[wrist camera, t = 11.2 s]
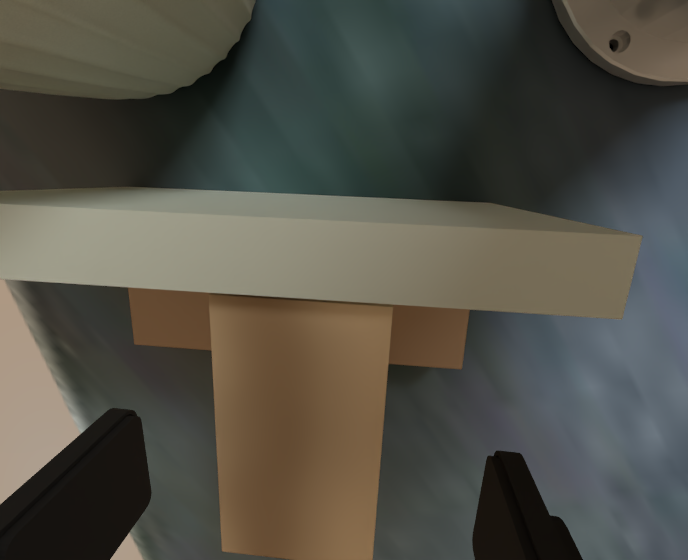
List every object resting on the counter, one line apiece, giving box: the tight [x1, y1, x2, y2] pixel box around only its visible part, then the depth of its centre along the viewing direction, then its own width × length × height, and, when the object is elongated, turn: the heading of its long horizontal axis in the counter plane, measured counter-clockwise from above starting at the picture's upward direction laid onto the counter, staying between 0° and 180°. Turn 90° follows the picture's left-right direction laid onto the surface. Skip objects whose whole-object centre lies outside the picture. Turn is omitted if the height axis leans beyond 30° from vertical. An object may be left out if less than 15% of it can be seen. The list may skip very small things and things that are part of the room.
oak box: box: [209, 293, 393, 560], centre depth 16 cm, size 5×10×9 cm, turn 177°
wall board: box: [0, 187, 642, 369], centre depth 16 cm, size 20×8×12 cm, turn 88°
